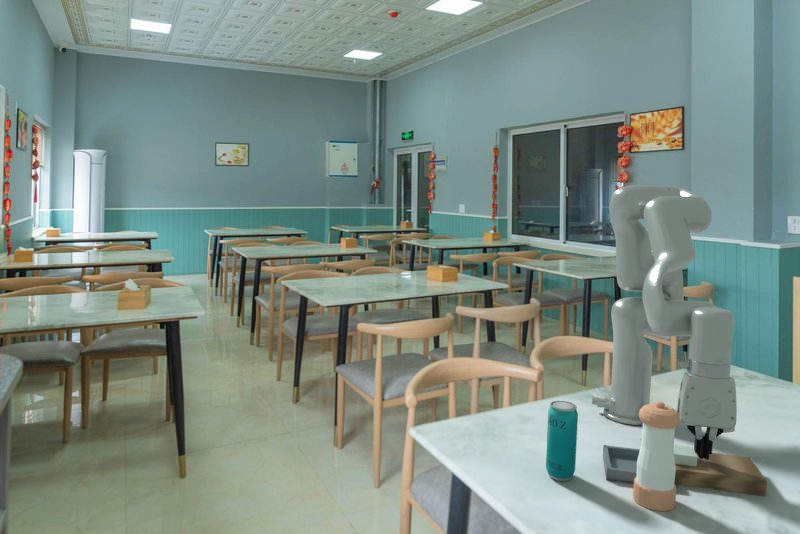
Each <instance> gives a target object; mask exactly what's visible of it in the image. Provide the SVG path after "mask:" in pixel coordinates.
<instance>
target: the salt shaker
mask: <svg viewBox="0 0 800 534" xmlns="http://www.w3.org/2000/svg"><path fill="white" fill-rule="evenodd" d="M639 418H640V420H641V421H642V422H643V425H642V430H641V438H642V443H641V442H640V443H641V445H640V448H639V449H640V451H639V455H638V460H637V477H635V479H634V484H633V492H632V498H633V501H634V502H635V503H637V504H638V505H639V506H641V507H643V508H645V509H648V510H652V511H656V512H668V511H672V510H674V508H676V496H677V486H676V484H674V481H675V472H676V467H675V457H674V445H675V433H676V432H675V429H676V428H677V427H679V426H678V425H679V423H680V415H679V414H678V412H677V410H676V409H675V408H673V407H671V406H669V405H666V404H665V403H664V402H662V401H656V402H654V403H650V404H648V405H644V406H643V407H642V408H641V409H640V411H639Z"/></svg>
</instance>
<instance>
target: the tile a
mask: <svg viewBox="0 0 800 534" xmlns="http://www.w3.org/2000/svg"><path fill="white" fill-rule="evenodd" d="M693 447H694V446H686V445H680V444H679V445H678V444H674V457H675V464H682V465H689V466H697V455H696V453H695V451H694V448H693Z"/></svg>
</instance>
